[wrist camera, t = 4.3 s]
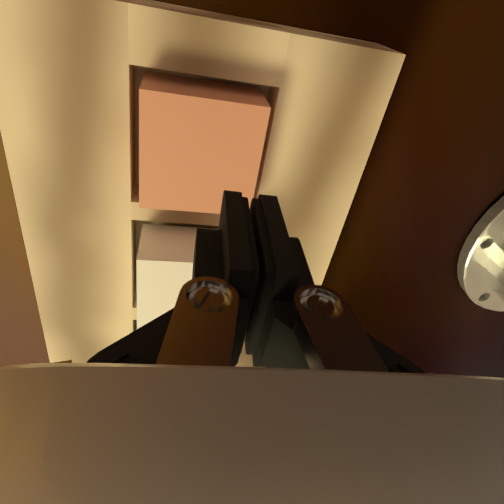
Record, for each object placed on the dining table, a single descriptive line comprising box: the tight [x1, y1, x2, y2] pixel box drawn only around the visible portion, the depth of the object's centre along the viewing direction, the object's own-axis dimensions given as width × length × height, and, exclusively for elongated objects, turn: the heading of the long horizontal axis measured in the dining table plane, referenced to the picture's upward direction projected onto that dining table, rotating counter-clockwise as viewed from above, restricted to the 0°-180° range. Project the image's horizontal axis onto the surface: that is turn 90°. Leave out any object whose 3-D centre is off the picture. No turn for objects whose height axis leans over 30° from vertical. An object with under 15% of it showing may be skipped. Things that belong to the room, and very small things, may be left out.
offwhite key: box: [136, 224, 218, 329], centre depth 20 cm, size 5×5×3 cm
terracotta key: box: [139, 71, 271, 214], centre depth 17 cm, size 5×5×3 cm
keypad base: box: [0, 0, 406, 368], centre depth 22 cm, size 16×24×3 cm, turn 170°
